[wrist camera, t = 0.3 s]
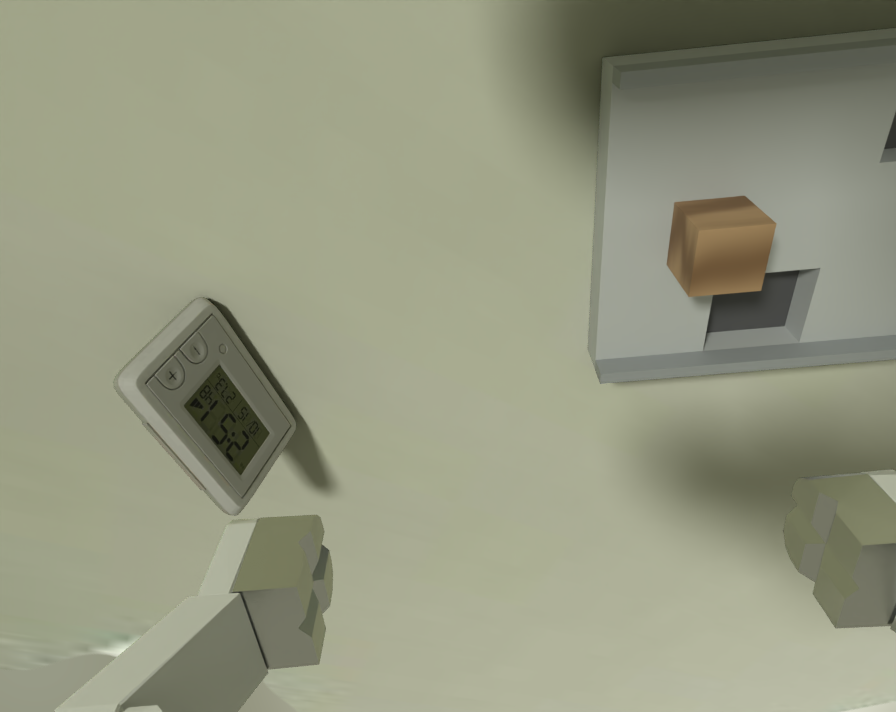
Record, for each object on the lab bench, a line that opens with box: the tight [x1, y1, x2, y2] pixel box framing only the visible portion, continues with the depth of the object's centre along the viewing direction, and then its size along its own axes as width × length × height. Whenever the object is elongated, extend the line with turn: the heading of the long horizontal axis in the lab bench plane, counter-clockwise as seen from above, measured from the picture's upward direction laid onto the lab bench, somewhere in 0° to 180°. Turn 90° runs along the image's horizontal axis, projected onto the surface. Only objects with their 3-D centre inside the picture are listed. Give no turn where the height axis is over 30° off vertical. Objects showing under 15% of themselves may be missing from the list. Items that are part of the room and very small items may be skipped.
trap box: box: [588, 28, 896, 384], centre depth 46 cm, size 24×36×6 cm, turn 95°
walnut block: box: [666, 196, 777, 297], centre depth 44 cm, size 5×5×5 cm
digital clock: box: [113, 297, 296, 516], centre depth 52 cm, size 16×9×11 cm, turn 9°
